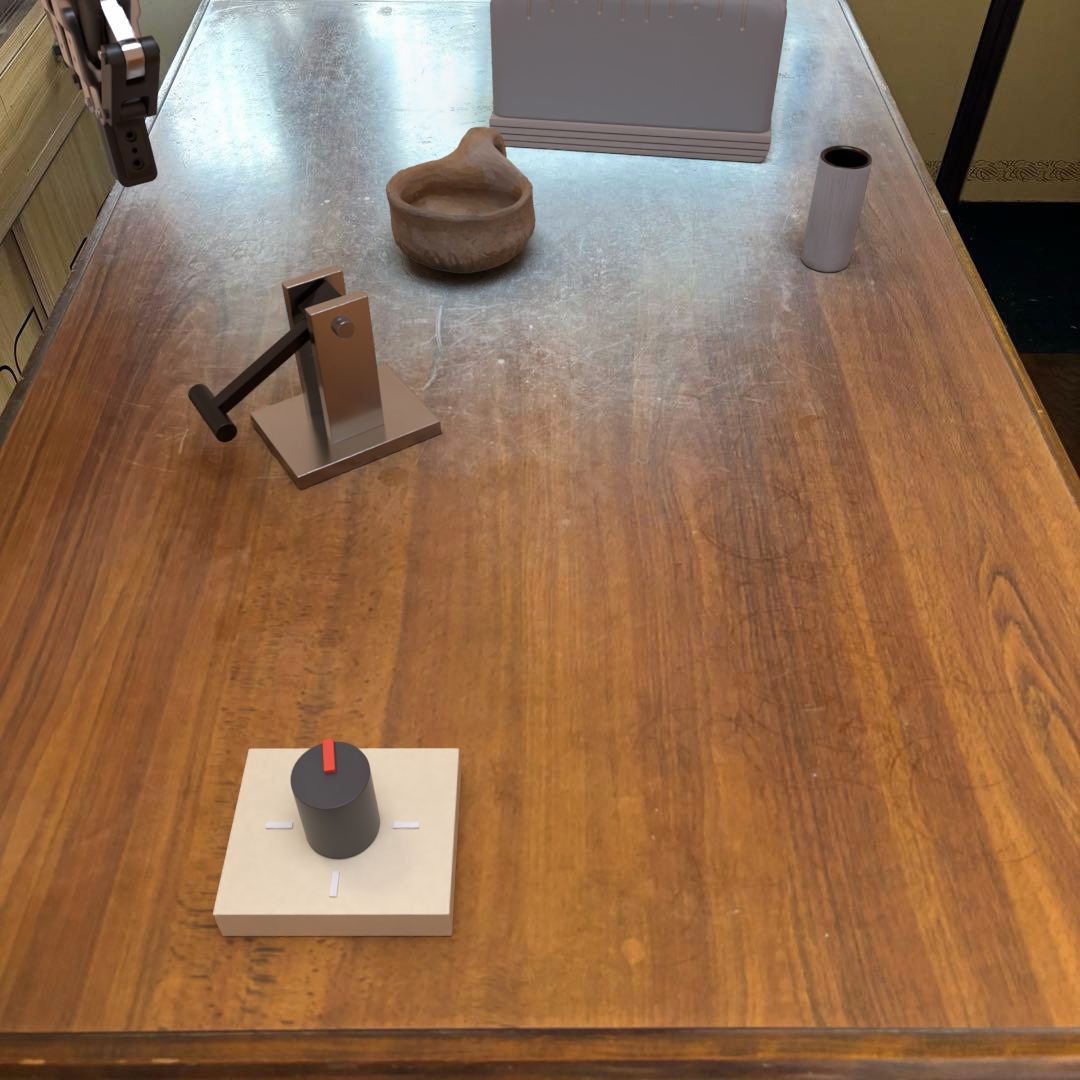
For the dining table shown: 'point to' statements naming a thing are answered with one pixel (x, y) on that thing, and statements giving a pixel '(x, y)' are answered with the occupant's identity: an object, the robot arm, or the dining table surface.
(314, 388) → the bracket
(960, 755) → the dining table surface
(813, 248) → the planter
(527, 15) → the toaster
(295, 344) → the lever
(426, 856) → the dial panel
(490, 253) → the bowl
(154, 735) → the dining table surface
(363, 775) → the dial
